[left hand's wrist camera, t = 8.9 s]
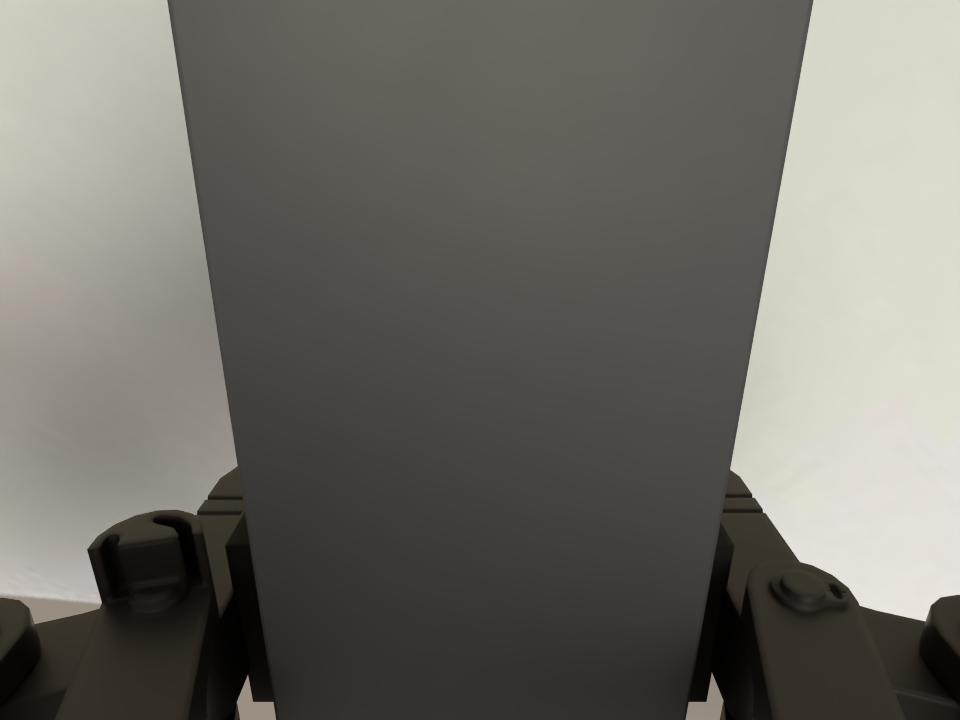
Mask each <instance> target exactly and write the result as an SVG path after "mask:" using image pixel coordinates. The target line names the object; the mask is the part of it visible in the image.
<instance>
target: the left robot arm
mask: <svg viewBox="0 0 960 720" xmlns="http://www.w3.org/2000/svg"><path fill="white" fill-rule="evenodd" d="M87 550H88V554H89V558H90V561H91V565H92V568H93V572H94V575H95V579H96V583H97V586H98V590H99V593H100V597H101V601H102V604H101V607H100V609H97V610H94V611H90V612H87V613H83V614H79V615H75V616H70V617H65V618H61V619H56V620H52V621H47V622H43V623H39V624H34V621H33V618H32V615H31V612H30V609H29V608H28V607H27V606H26V605H24V604H23V603H22V602H21V601H19V600H13V599H7V598H0V720H240V718H239V712H238V706H237V700H238V697H239V695H240V693H241V690H242V688H243V685H244V683H245V680H246V678H247V675H248V676H249V681H250V687H251V692H252V698H253V702H274V701H273V694H272V688H271V681H270V674H269V668H268V661H267V655H266V648H265V641H264V635H263V628H262V622H261V615H260V608H259V602H258V595H257V589H256V582H255V575H254V569H253V562H252V556H251V549H250V542H249V536H248V529H247V522H246V516H245V509H244V503H243V496H242V489H241V483H240V476H239V470H238V467H236V468H235V469H233V470H232V471H231V472H229V473H228V474H226V475H225V476H223V477H222V478H220V480H219V481H218V483H217V484H216V485H215V487H214V488H213V490H212V491H211V493H210V494H209V496H208V500H205V501H204V503H203V504H202V506H201V507H200V508H199V510H198V511H197V515H195V516H194V515H193V514H191V513H187V512H183V511H179V510H161V511H154V512H149V513H145V514H141V515H136V516H134V517H131V518H129V519H127V520H124V521H122V522H120V523H117V524H115V525H114V526H112V527H111V528H109V529H108V530H106V531H105V532H103V533H102V534H100V535H99V536H98V537H97V538H96V539H95V540H94V542H93V543H92V544H91V545H90V547H89V548H88V549H87ZM711 673H713V676H714V678H715V681H716V683H717V685H718V688H719V690H720V693H721V695H722V698H723V700H724V701H723V706H722V712H721V717H720V720H960V595H955V596H948V597H941V598H940V599H938V600H937V601H936V602H935V603H934V604H932V605H931V607H930V610H929V613H928V616H927V619H926V622H925V621H920V620H916V619H911V618H907V617H902V616H898V615H893V614H889V613H884V612H880V611H875V610H872V609H869V608H865V607H862V606H859V603H858V601H857V600H856V598H855V597H854V595H853V594H852V593H851V591H850V590H849V588H848V587H847V586H845V585H844V584H843V583H841V582H840V581H839V580H838V579H836V578H835V577H834V576H833V575H831V574H829V573H827V572H825V571H823V570H821V569H819V568H817V567H814V566H812V565H809V564H805V563H801V562H799V560H798V559H797V557H796V556H795V555H794V553H793V552H792V550H791V549H790V548H789V546H788V545H787V543H786V542H785V540H784V539H783V538H782V536H781V535H780V533H779V532H778V530H777V529H776V528H775V526H774V525H773V523H772V522H771V521H770V519H769V518H768V516H767V515H766V513H763V509H762V508H761V506H760V505H759V503H758V502H757V501H756V499H755V498H752V493H751V492H750V491H749V489H748V488H747V486H746V485H745V484H744V482H743V481H742V479H741V478H740V476H738V475H737V474H735V473H734V472H732V471H731V470H730V472H729V477H728V483H727V488H726V494H725V500H724V505H723V511H722V517H721V522H720V528H719V533H718V539H717V545H716V550H715V556H714V562H713V567H712V573H711V578H710V584H709V590H708V595H707V601H706V607H705V612H704V618H703V623H702V629H701V635H700V640H699V646H698V651H697V657H696V663H695V668H694V674H693V680H692V685H691V691H690V696H689V702H706V701H707V695H708V690H709V684H710V679H711Z"/></svg>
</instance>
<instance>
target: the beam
mask: <svg viewBox="0 0 960 720" xmlns="http://www.w3.org/2000/svg"><path fill="white" fill-rule="evenodd" d="M167 1H168V7H169V14H170V20H171V27H172V34H173V40H174V47H175V53H176V60H177V67H178V73H179V80H180V86H181V93H182V100H183V106H184V113H185V119H186V126H187V133H188V139H189V146H190V153H191V159H192V166H193V172H194V179H195V186H196V192H197V199H198V205H199V212H200V219H201V225H202V232H203V238H204V245H205V252H206V258H207V265H208V271H209V278H210V285H211V291H212V298H213V304H214V311H215V318H216V324H217V331H218V337H219V344H220V351H221V357H222V364H223V371H224V377H225V384H226V390H227V397H228V404H229V410H230V417H231V423H232V430H233V437H234V443H235V450H236V456H237V463H238V470H239V476H240V483H241V489H242V496H243V503H244V509H245V516H246V522H247V529H248V536H249V542H250V549H251V556H252V562H253V569H254V575H255V582H256V589H257V595H258V602H259V608H260V615H261V622H262V628H263V635H264V641H265V648H266V655H267V661H268V668H269V674H270V681H271V688H272V694H273V701H274V707H275V714H276V720H685V719H686V713H687V708H688V702H689V696H690V691H691V685H692V680H693V674H694V668H695V663H696V657H697V651H698V646H699V640H700V635H701V629H702V623H703V618H704V612H705V607H706V601H707V595H708V590H709V584H710V578H711V573H712V567H713V562H714V556H715V550H716V545H717V539H718V533H719V528H720V522H721V517H722V511H723V505H724V500H725V494H726V488H727V483H728V477H729V472H730V466H731V460H732V455H733V449H734V443H735V438H736V432H737V427H738V421H739V415H740V410H741V404H742V398H743V393H744V387H745V382H746V376H747V370H748V365H749V359H750V353H751V348H752V342H753V337H754V331H755V325H756V320H757V314H758V308H759V303H760V297H761V292H762V286H763V280H764V275H765V269H766V264H767V258H768V252H769V247H770V241H771V235H772V230H773V224H774V219H775V213H776V207H777V202H778V196H779V190H780V185H781V179H782V174H783V168H784V162H785V157H786V151H787V145H788V140H789V134H790V129H791V123H792V117H793V112H794V106H795V100H796V95H797V89H798V84H799V78H800V72H801V67H802V61H803V55H804V50H805V44H806V39H807V33H808V27H809V22H810V16H811V10H812V5H813V0H167Z"/></svg>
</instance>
